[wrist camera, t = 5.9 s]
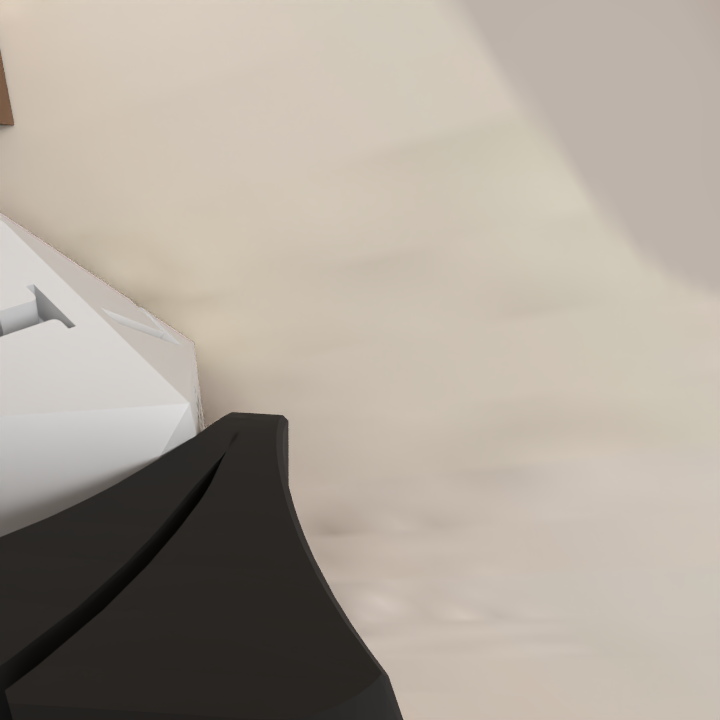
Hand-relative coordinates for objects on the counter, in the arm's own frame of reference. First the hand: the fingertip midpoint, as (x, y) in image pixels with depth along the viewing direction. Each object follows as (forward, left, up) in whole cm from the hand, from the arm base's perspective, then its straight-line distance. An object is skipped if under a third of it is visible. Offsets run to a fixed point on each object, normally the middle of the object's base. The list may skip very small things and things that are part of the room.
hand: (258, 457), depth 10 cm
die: (0, +5, -3) cm, 6 cm away
